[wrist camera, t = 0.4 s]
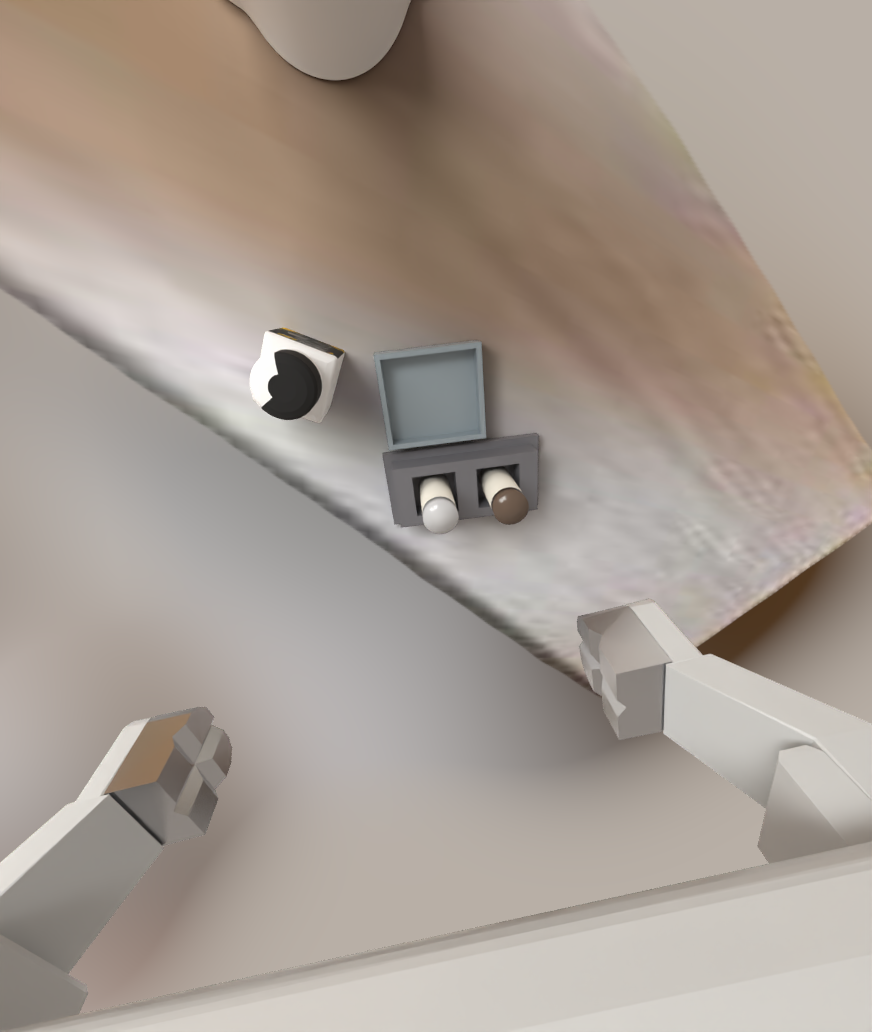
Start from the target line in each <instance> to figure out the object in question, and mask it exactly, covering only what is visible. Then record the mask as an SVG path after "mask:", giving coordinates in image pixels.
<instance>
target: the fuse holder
mask: <svg viewBox="0 0 872 1032" xmlns="http://www.w3.org/2000/svg"><path fill="white" fill-rule="evenodd" d="M538 437H539V435H538V434H537V433H533V434H525V435H517V436H509V437H502V438H494V439H486V440H478V441H471V442H463V443H455V444H447V445H439V446H432V447H424V448H416V449H408V450H401V451H393V452H385V453H383V460H384V466H385V472H386V478H387V484H388V490H389V495H390V501H391V507H392V513H393V519H394V524H400V525H401V527H409V526H416V525H424V522H423V515H422V507H421V500H420V492H419V482H420V479H421V478H422V476H428V475H435V474H444V475H445V476H446V477H447V479H448V481H449V485H450V488H451V491H452V495H453V498H454V501H455V505H456V508H457V511H458V515H459V519H458V520H461V519H469V518H476V517H484V516H491V515H494V513H493V511H492V509H491V507H490V504H489V502H488V500H487V498H486V496H485V494H484V492H483V489H482V487H481V485H480V483H479V474H480V472H481V470H482V469H483V468H489V467H497V466H504V467H505V468H506V469H507V471H508V472H509V473H510V475H511V476H512V478H513V479H514V481H515V482H516V484H517V485H518V487H519V488H520V490H521V491H522V493H523V494H524V496H525V497H526V499H527V501H528V504H529V510H536V509H537V505H538Z"/></svg>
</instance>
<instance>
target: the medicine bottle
mask: <svg viewBox="0 0 872 1032" xmlns="http://www.w3.org/2000/svg"><path fill="white" fill-rule="evenodd" d="M344 354H345V352H344V351H343V350H342V349H339V348H336V347H334V346H331V345H329V344H326V343H323V342H321V341H318V340H315V339H313V338H310V337H308V336H305V335H302V334H300V333H297V332H294V331H292V330H289V329H287V328H279V329H275V330H270V331H266V332H265V334H264V340H263V345H262V350H261V355H260V359H259V360H258V361H257V362H256V363H255V365H254V366H253V368H252V371H251V374H250V388H251V392H252V395H253V401H254V402H257V404H258V405H259V406H260V407H261V408H262V409H263V410H264V411H265V412H267V413H268V414H270V415H272V416H274V417H276V418H279V419H284V420H293V419H298V418H304V419H307V420H310V421H313V422H316V423H320V422H321V421H322V420H323V418H324V417H325V415H326V413H327V412H328V410H329V409H330V407H331V403H332V399H333V395H334V392H335V388H336V384H337V380H338V377H339V373H340V369H341V366H342V362H343V358H344Z"/></svg>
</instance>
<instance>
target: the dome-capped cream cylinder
mask: <svg viewBox="0 0 872 1032" xmlns="http://www.w3.org/2000/svg"><path fill="white" fill-rule="evenodd" d="M419 492H420V500H421V507H422V515H423V522H424V525H425V527H426V528H427V529H428V530H429V531H431V532H433V533H436V534H444V533H447V532H449V531H451V530H452V529H454V528H455V526H456V525H457V523H458V519H459V515H458V511H457V508H456V505H455V501H454V498H453V495H452V491H451V488H450V485H449V481H448V479H447V477H446V476H445V475H444V474H435V475H428V476H422V478H421V479H420V482H419Z"/></svg>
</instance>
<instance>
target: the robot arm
mask: <svg viewBox="0 0 872 1032" xmlns="http://www.w3.org/2000/svg"><path fill="white" fill-rule="evenodd" d="M229 1H231V2H232V3H234V4H235V5H236V6H238V7H239V8H241V9H242V10H244V11H245V12H246V13H247V14H248V16H249V17H250V18H251V19H252V21H253V22H254V23H255V25H256V26H257V28H258V29H259V30H260V32H261V33H262V35H263V36H264V37H265V39H266V40H267V41H268V43H269V44H270V45H271V46H272V47H273V48H274V50H275V51H276V52H277V53H278V54H279V55H280V56H282V57H283V58H284V59H285V60H286V61H287V62H289V63H290V64H291V65H293V66H294V67H296V68H297V69H299V70H301V71H302V72H304V73H306V74H309V75H311V76H314V77H317V78H321V79H326V80H344V79H349V78H353V77H356V76H359V75H361V74H363V73H365V72H366V71H368V70H370V69H371V68H372V67H374V66H375V65H376V64H377V63H378V62H379V61H380V60H381V59H382V58H383V57H384V56H385V55H386V53H387V52H388V51H389V49H390V48H391V46H392V45H393V43H394V41H395V40H396V38H397V36H398V34H399V32H400V29H401V27H402V24H403V21H404V18H405V15H406V13H407V10H408V7H409V4H410V2H411V0H229ZM577 628H578V632H579V634H580V636H581V637H582V639H583V641H582V643H581V644H580V646H579V648H580V655H581V660H582V664H583V668H584V671H585V674H586V676H587V678H588V681H589V683H590V685H591V687H592V689H593V691H594V692H596V693H597V694H599V695H601V696H602V700H603V710H604V712H605V714H606V716H607V718H608V720H609V722H610V723H611V725H612V727H613V729H614V731H615V733H616V735H617V737H618V739H619V740H622V739H627V738H632V737H637V736H642V735H646V734H652V733H657V732H662V731H664V734H665V735H666V736H668V737H669V738H670V739H672V740H673V741H674V742H676V743H677V744H679V745H680V746H681V747H683V748H684V749H685V750H687V751H688V752H689V753H691V754H692V755H693V756H695V757H696V758H697V759H699V760H700V761H702V762H703V763H705V764H706V765H707V766H708V767H710V768H711V769H712V770H714V771H715V772H717V773H718V774H719V775H721V776H722V777H723V778H725V779H726V780H727V781H729V782H730V783H732V784H733V785H735V786H736V787H737V788H738V789H740V790H741V791H743V792H744V793H745V794H747V795H748V796H749V797H751V798H752V799H754V800H755V801H756V802H758V803H759V804H761V805H762V806H763V807H764V808H766V811H765V815H764V820H763V824H762V829H761V833H760V838H759V842H758V848H759V849H760V851H761V852H762V854H763V855H764V857H765V858H766V860H767V861H768V863H769V864H765V865H761V866H756V867H751V868H747V869H742V870H738V871H733V872H728V873H724V874H720V875H715V876H710V877H706V878H701V879H696V880H692V881H687V882H683V883H678V884H674V885H669V886H664V887H660V888H655V889H650V890H646V891H642V892H637V893H632V894H627V895H623V896H618V897H614V898H609V899H604V900H601V901H595V902H591V903H587V904H582V905H577V906H573V907H568V908H563V909H558V910H554V911H550V912H545V913H540V914H536V915H531V916H526V917H522V918H517V919H513V920H508V921H503V922H499V923H495V924H490V925H485V926H480V927H476V928H472V929H467V930H462V931H458V932H453V933H449V934H444V935H439V936H435V937H431V938H425V939H421V940H416V941H412V942H407V943H402V944H398V945H393V946H389V947H384V948H379V949H375V950H370V951H366V952H361V953H356V954H352V955H347V956H343V957H338V958H334V959H329V960H324V961H320V962H316V963H310V964H306V965H301V966H297V967H292V968H287V969H283V970H278V971H274V972H269V973H265V974H260V975H255V976H251V977H246V978H242V979H237V980H232V981H228V982H223V983H219V984H214V985H210V986H205V987H200V988H196V989H191V990H187V991H182V992H178V993H173V994H168V995H164V996H159V997H155V998H150V999H145V1000H141V1001H136V1002H132V1003H127V1004H123V1005H118V1006H113V1007H109V1008H104V1009H100V1010H96V1011H90V1012H86V1013H82V1014H79V1013H80V1010H81V1008H82V1006H83V1004H84V1001H85V999H86V997H87V995H88V991H87V985H86V984H84V983H83V982H81V981H79V980H78V979H76V978H74V977H72V976H71V975H69V972H70V971H71V970H72V968H73V967H74V966H75V964H76V963H77V962H78V960H79V959H80V958H81V956H82V955H83V954H84V952H85V951H86V950H87V949H88V947H89V946H90V945H91V943H92V942H93V941H94V939H95V938H96V937H97V935H98V934H99V933H100V931H101V930H102V929H103V928H104V926H105V925H106V924H107V922H108V921H109V920H110V918H111V917H112V916H113V914H114V913H115V912H116V910H117V909H118V908H119V906H120V905H121V904H122V903H123V901H124V900H125V899H126V897H127V896H128V895H129V893H130V892H131V891H132V890H133V888H134V887H135V886H136V884H137V883H138V882H139V880H140V879H141V877H142V876H143V875H144V874H145V873H146V871H147V870H148V869H149V867H150V866H151V865H152V863H153V862H154V861H155V859H156V858H157V857H158V855H159V854H160V853H161V851H162V850H163V849H164V847H163V846H164V845H168V844H172V843H176V842H179V841H183V840H187V839H191V838H195V837H198V836H202V835H205V834H206V831H207V828H208V826H209V823H210V820H211V817H212V814H213V812H214V809H215V807H216V804H217V801H218V797H217V794H216V790H215V789H216V788H217V787H218V786H219V785H220V783H221V782H222V781H223V780H224V779H225V778H226V776H227V773H228V771H229V768H230V765H231V756H232V746H231V743H230V739H229V737H228V736H227V734H226V733H225V731H224V730H222V729H220V728H218V727H215V726H213V725H212V723H213V720H214V716H213V715H212V714H211V712H210V711H209V710H208V709H207V708H206V707H196V708H192V709H187V710H183V711H177V712H173V713H168V714H164V715H159V716H155V717H151V718H147V719H142V720H137V721H133V722H132V723H130V724H129V725H127V726H126V727H124V729H123V730H122V732H121V733H120V735H119V736H118V738H117V739H116V741H115V742H114V744H113V745H112V747H111V748H110V750H109V751H108V753H107V755H106V756H105V758H104V759H103V761H102V762H101V764H100V765H99V767H98V768H97V770H96V771H95V773H94V774H93V776H92V777H91V779H90V781H89V782H88V783H87V785H86V786H85V788H84V789H83V791H82V793H81V794H80V796H79V797H78V799H77V800H76V802H73V803H69V804H67V805H66V806H65V807H64V808H62V809H61V810H60V811H59V812H58V813H57V814H56V815H54V816H53V817H52V818H51V819H50V820H49V821H47V822H46V823H45V824H44V825H43V826H42V827H41V828H39V829H38V830H37V831H36V832H35V833H34V834H33V835H31V836H30V837H29V838H28V839H27V840H26V841H25V842H23V843H22V844H21V845H20V846H19V847H18V848H17V849H15V850H14V851H13V852H12V853H11V854H10V855H9V856H7V857H6V858H5V859H4V860H3V861H2V862H1V863H0V1032H872V724H870V723H868V722H866V721H864V720H862V719H859V718H857V717H854V716H852V715H850V714H848V713H845V712H843V711H841V710H839V709H836V708H834V707H832V706H829V705H827V704H825V703H823V702H820V701H818V700H816V699H813V698H811V697H809V696H806V695H804V694H802V693H800V692H797V691H795V690H792V689H790V688H788V687H786V686H783V685H781V684H779V683H777V682H774V681H772V680H770V679H767V678H765V677H763V676H761V675H758V674H756V673H754V672H751V671H749V670H747V669H744V668H742V667H740V666H738V665H735V664H733V663H731V662H728V661H726V660H724V659H721V658H719V657H717V656H715V655H712V654H708V655H702V654H701V653H700V652H699V651H698V650H697V648H696V647H695V646H694V645H693V644H692V643H691V642H690V640H689V639H688V638H687V637H686V636H685V635H684V634H683V633H682V632H681V630H680V629H679V628H678V627H677V626H676V625H675V624H674V623H673V621H672V620H671V619H670V618H669V617H668V616H667V615H666V614H665V613H664V611H663V610H662V609H661V608H660V607H659V606H658V605H657V604H656V603H655V601H653V600H651V599H645V600H641V601H637V602H633V603H629V604H626V605H625V606H624V605H622V606H618V607H614V608H610V609H606V610H602V611H598V612H594V613H590V614H586V615H582V616H578V619H577Z"/></svg>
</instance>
